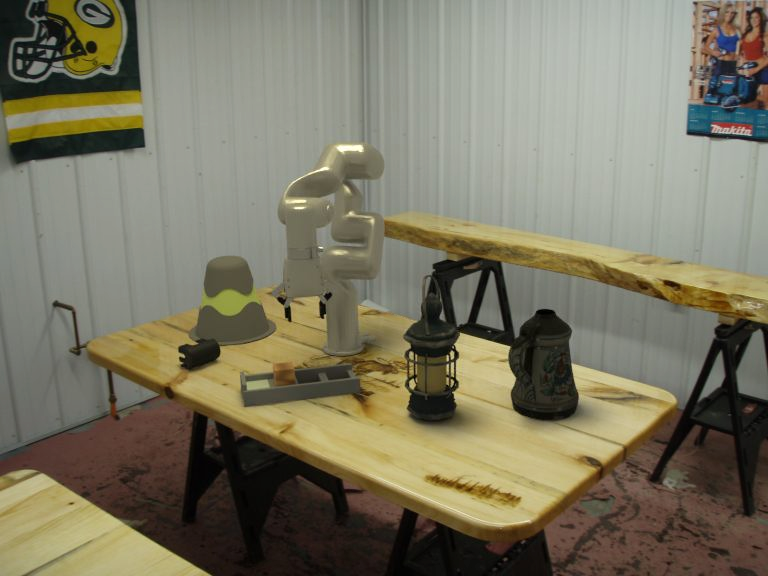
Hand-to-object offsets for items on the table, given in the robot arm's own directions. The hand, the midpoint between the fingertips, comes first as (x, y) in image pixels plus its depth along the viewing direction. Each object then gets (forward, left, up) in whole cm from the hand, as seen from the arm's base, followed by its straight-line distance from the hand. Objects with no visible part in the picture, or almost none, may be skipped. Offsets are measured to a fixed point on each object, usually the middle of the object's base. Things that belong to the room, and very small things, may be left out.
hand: (305, 318), depth 201 cm
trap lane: (+2, 0, -20) cm, 20 cm away
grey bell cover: (+16, -54, -20) cm, 60 cm away
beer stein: (-54, +28, -20) cm, 64 cm away
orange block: (+6, 0, -17) cm, 18 cm away
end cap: (+27, -27, -20) cm, 43 cm away
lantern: (-27, +23, -20) cm, 40 cm away
